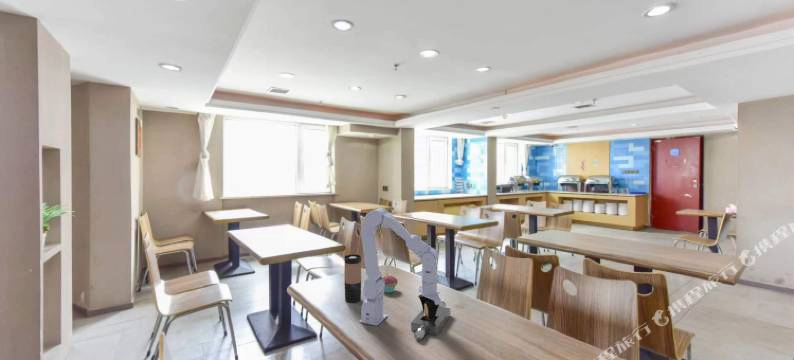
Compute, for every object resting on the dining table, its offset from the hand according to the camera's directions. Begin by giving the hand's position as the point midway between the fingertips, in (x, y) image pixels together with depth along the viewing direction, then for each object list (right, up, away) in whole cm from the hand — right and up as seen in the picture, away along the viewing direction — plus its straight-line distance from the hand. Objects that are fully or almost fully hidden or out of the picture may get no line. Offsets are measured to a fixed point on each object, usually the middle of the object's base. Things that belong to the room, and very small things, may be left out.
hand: (429, 316), depth 128 cm
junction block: (+1, -4, +3) cm, 5 cm away
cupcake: (-16, -3, +37) cm, 41 cm away
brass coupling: (0, -2, 0) cm, 2 cm away
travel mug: (-32, -3, +26) cm, 41 cm away
